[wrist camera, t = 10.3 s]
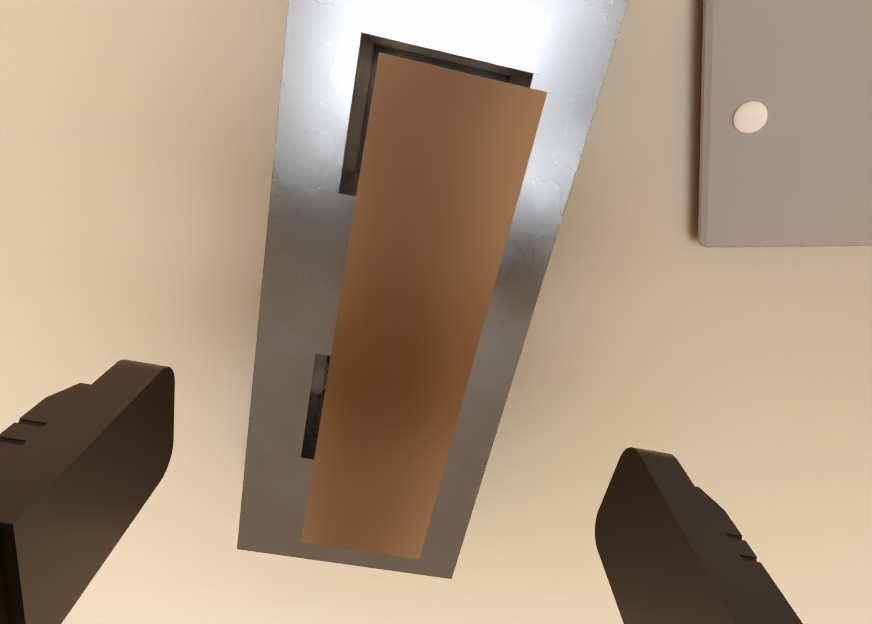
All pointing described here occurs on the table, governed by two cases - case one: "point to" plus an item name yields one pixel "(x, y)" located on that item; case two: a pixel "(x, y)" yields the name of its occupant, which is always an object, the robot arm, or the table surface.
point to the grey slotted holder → (331, 224)
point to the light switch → (786, 123)
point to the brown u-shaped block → (414, 296)
